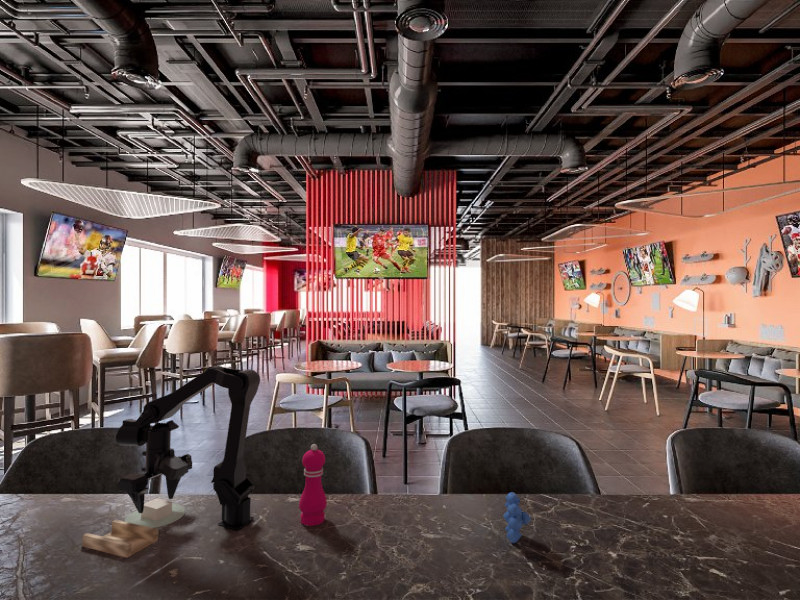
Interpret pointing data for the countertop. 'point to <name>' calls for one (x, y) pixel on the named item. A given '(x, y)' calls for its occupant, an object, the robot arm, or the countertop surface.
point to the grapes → (514, 517)
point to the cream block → (157, 509)
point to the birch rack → (122, 539)
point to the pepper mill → (313, 488)
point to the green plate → (139, 520)
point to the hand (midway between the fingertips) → (156, 505)
